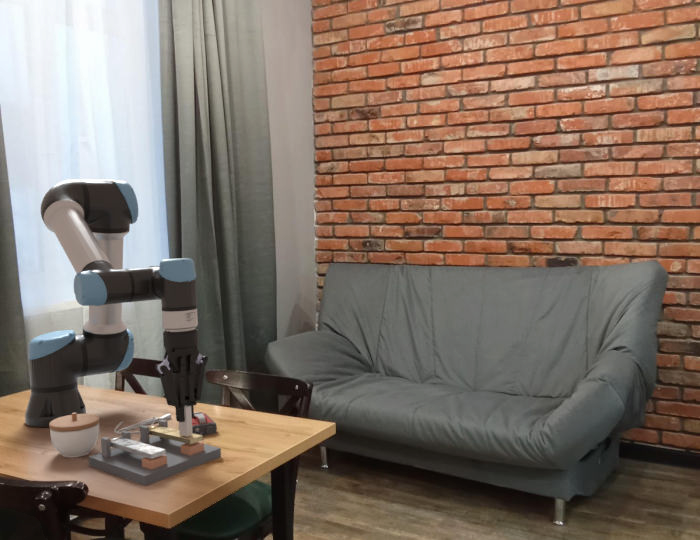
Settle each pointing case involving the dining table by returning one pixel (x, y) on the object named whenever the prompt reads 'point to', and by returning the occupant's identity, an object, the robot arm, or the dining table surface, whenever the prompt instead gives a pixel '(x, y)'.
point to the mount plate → (159, 473)
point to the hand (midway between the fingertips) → (186, 434)
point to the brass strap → (174, 434)
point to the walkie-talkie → (203, 424)
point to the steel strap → (137, 447)
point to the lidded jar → (74, 434)
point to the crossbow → (147, 422)
